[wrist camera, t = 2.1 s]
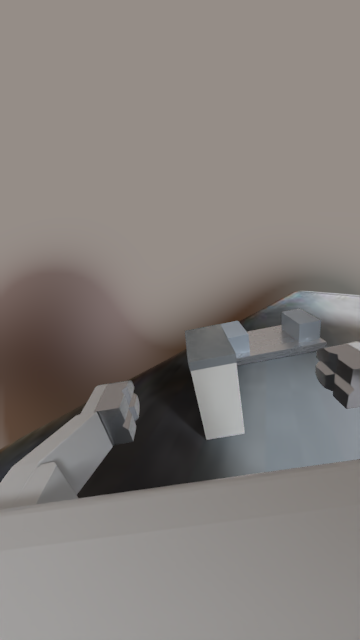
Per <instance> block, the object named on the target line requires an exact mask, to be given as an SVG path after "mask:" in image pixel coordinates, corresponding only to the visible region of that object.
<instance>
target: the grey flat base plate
mask: <svg viewBox="0 0 360 640" xmlns="http://www.w3.org/2000/svg"><path fill="white" fill-rule="evenodd" d="M247 333H248V334H249V346H250V352H246V353H240V354H236V358H237V363H236V364H237V366H239V365H244V364H250V363H255V362H261V361H266V360H271V359H277V358H282V357H288V356H293V355H299V354H304V353H309V352H315V351H318V349H319V348H325V347H326V341H325V340H323V339H322V338H320V339H315V340H310V341H304V342H298V341H297V340H296V339H294V338H293V337H292V336H291V335H289V334H288V333H287V332H286V331H285V330H283V329H282V325H279V326H273V327H268V328H263V329H258V330H253V331H248V332H247Z"/></svg>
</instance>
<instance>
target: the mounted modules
mask: <svg viewBox="0 0 360 640" xmlns="http://www.w3.org/2000/svg"><path fill="white" fill-rule="evenodd" d="M281 318H282V329H283V330H285V331H286V332H287V333H288V334H289V335H291V336H292V337H293V338H294V339H296V340H297V341H298V342H304V341H310V340H315V339H320V329H321V320H320V319H318V318H316V317H314V316H313V315H311V314H309V313H307V312H305V311H303V310H302V309H300V308H299V309H294V310H289V311H284V312H281ZM220 325H221V327H222V329H223V330H224V332H225V334H226V336H227V338H228V340H229V342H230V344H231V345H232V347H233V349H234V351H235V353H236V354H240V353H246V352H250V346H249V334H248V333H247V332H246V330H245V329H244V328H243V326H242V325H241V324H240V323H239V321H234V322H228V323H223V324H220Z"/></svg>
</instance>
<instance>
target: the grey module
mask: <svg viewBox="0 0 360 640" xmlns="http://www.w3.org/2000/svg"><path fill="white" fill-rule="evenodd" d="M185 337H186V347H187V357H188V364H189V369H190V371H191V375H192V379H193V384H194V388H195V393H196V397H197V401H198V406H199V410H200V414H201V419H202V423H203V427H204V432H205V436H206V440H208V439H214V438H220V437H226V436H232V435H239V434H245V432H244V423H243V415H242V406H241V398H240V389H239V381H238V372H237V364H236V363H237V358H236V353H235V351H234V349H233V347H232V345H231V344H230V342H229V340H228V338H227V336H226V334H225V332H224V330H223V329H222V327H221V325H220V324H217V325H212V326H207V327H203V328H198V329H193V330H187V331H185Z"/></svg>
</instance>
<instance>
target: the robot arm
mask: <svg viewBox="0 0 360 640" xmlns="http://www.w3.org/2000/svg"><path fill="white" fill-rule="evenodd" d="M316 357H317V358H318V360H319V362H318V363H317V365H316V369H315V373H316V376H317V379H318V380H319V382H320V383H321V384H322V385H323V386H324V387H325V388H326V389H329V390H331V391H333V396H334V397H335V398H336V399H337V400H338V401H339V402H340V403H341V404H342V405H343V406H344V407H345V408H346V409H350V408H358V407H360V342H358V341H355V342H350V343H345V344H342V345H336V346H331V347H325V348H319V349H318V351H317V356H316ZM133 391H134V385H133V383H132V381H123V382H116V383H110V384H103V385H98V386H97V387H95V389H94V391H93V392H92V394H91V396H90V398H89V400H88V401H87V403H86V405H85V407H84V408H83V410H82V412H81V414H80V415H76V416H75V417H74V418H72V419H71V420H70V421H69V422H67V423H66V424H65V425H64V426H62V427H61V428H60V429H59V430H57V431H56V432H55V433H54V434H52V435H51V436H50V437H49V438H48V439H46V440H45V441H44V442H43V443H41V444H40V445H39V446H38V447H36V448H35V449H34V450H33V451H31V452H30V453H29V454H28V455H26V456H25V457H24V458H23V459H21V460H20V461H19V462H18V463H16V464H15V465H14V466H13V467H12V468H11V469H10V470H9V472H8V473H7V475H6V476H5V477H4V479H3V480H2V481H1V483H0V640H360V459H357V460H350V461H343V462H336V463H329V464H322V465H315V466H307V467H300V468H293V469H286V470H279V471H271V472H264V473H257V474H250V475H243V476H235V477H228V478H221V479H214V480H207V481H199V482H192V483H185V484H178V485H171V486H164V487H156V488H149V489H142V490H135V491H128V492H121V493H114V494H106V495H99V496H92V497H85V498H78V496H77V494H78V493H79V491H80V490H81V489H82V487H83V486H84V485H85V483H86V482H87V481H88V479H89V478H90V477H91V475H92V474H93V473H94V471H95V470H96V468H97V467H98V466H99V464H100V463H101V462H102V460H103V459H104V458H105V456H106V455H107V454H108V452H109V451H110V450H111V448H112V447H113V446H112V445H118V444H123V443H128V442H133V440H134V436H135V431H136V424H135V421H136V420H137V419H138V417H139V412H140V405H139V399H138V396H137V395H136V394H134V393H133Z"/></svg>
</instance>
